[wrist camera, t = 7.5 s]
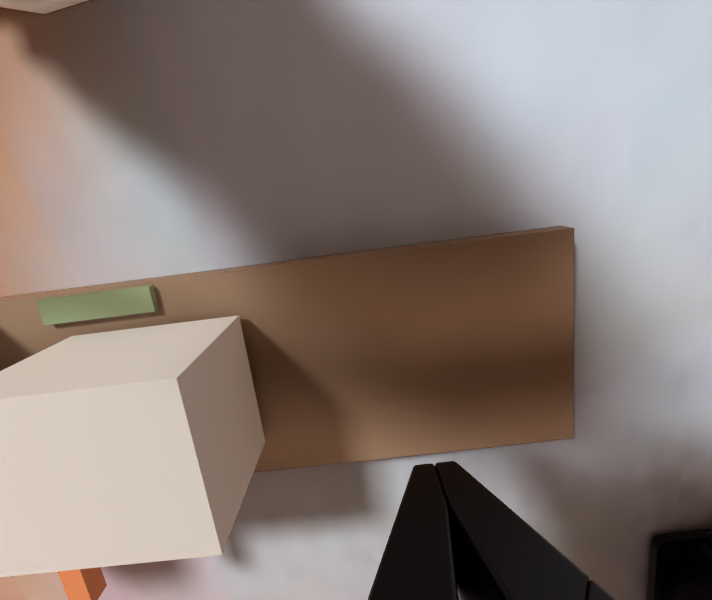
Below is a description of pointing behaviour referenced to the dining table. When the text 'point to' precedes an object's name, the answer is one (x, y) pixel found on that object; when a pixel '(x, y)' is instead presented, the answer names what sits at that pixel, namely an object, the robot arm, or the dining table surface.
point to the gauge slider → (125, 450)
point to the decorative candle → (38, 5)
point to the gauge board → (366, 342)
